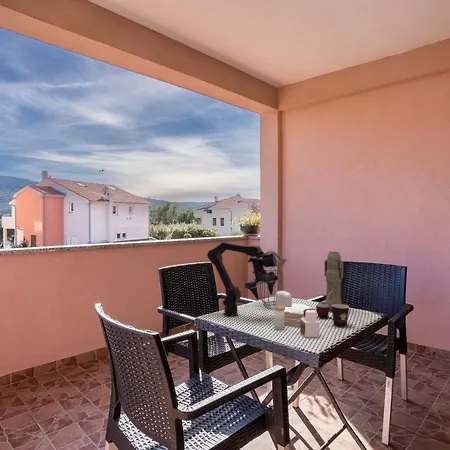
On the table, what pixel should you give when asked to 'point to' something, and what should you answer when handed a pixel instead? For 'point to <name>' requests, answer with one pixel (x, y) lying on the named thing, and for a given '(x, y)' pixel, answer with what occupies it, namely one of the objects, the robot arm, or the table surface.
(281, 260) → the geometric lantern
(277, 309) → the ceramic jar
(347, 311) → the coffee mug
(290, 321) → the open box
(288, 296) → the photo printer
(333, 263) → the stone statue
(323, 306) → the mate gourd
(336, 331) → the table surface
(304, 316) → the medicine bottle
